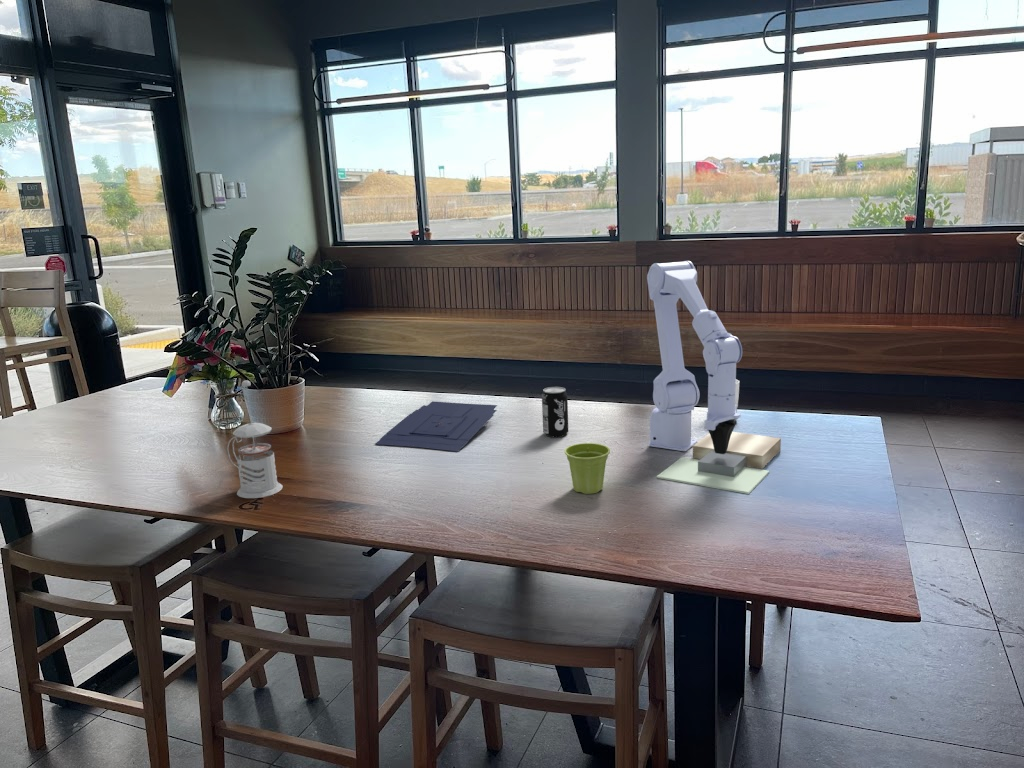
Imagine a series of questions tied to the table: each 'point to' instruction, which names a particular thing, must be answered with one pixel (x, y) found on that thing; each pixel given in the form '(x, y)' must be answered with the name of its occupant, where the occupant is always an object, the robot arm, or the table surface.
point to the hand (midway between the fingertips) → (720, 452)
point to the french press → (255, 461)
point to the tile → (722, 464)
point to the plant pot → (587, 466)
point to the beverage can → (555, 411)
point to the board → (743, 448)
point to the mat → (713, 476)
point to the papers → (439, 426)
